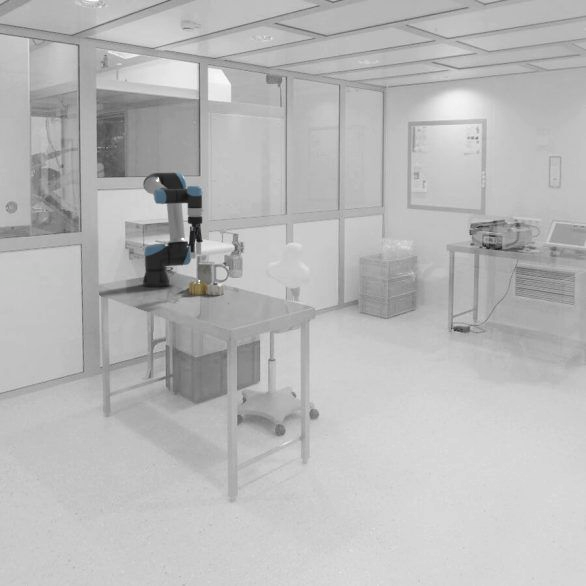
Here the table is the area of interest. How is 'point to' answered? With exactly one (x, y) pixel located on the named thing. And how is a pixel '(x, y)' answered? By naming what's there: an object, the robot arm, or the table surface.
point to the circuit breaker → (206, 272)
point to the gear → (215, 289)
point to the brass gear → (197, 288)
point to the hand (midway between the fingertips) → (195, 256)
